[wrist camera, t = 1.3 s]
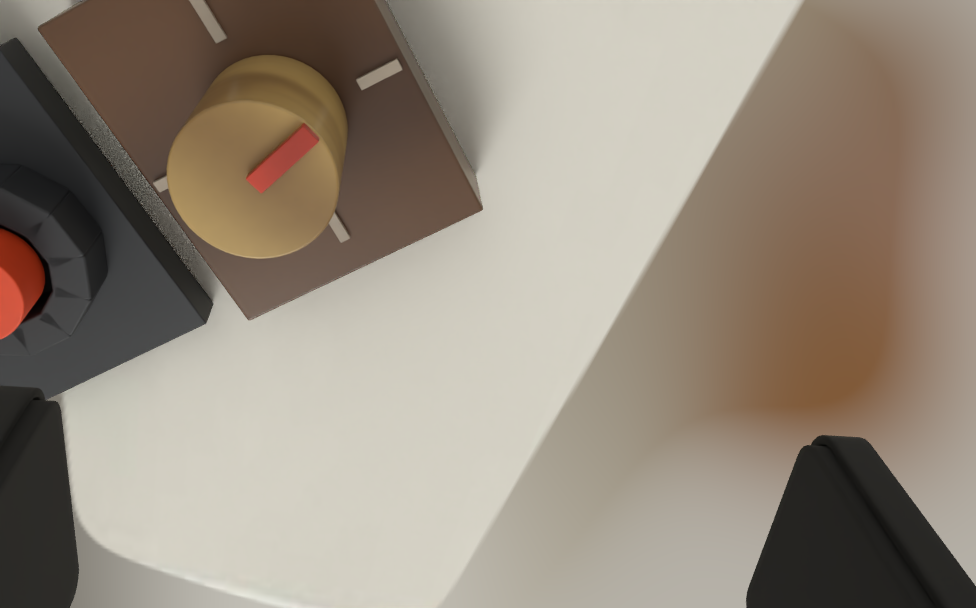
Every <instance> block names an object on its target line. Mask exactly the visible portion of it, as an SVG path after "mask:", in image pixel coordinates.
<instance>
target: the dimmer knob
mask: <svg viewBox="0 0 976 608" xmlns="http://www.w3.org/2000/svg"><path fill="white" fill-rule="evenodd" d="M347 138H348V122H347V117H346V112H345V109H344V106H343V104H342V102H341V100H340V98H339V96H338V94H337V92H336V91H335V89H334V88H333V87H332V85H331V84H330V83H329V82H328V81H327V80H326V79H325V78H324V77H323V76H322V75H321V74H320V73H319V72H317V71H316V70H314V69H313V68H312V67H310V66H308V65H306V64H304V63H302V62H300V61H297V60H295V59H292V58H288V57H284V56H278V55H259V56H252V57H249V58H245V59H242V60H240V61H238V62H236V63H234V64H232V65H231V66H229V67H227V68H226V69H225V70H224V71H223V72H221V73H220V74H219V75H218V76H217V78H216V79H215V80H214V81H213V83H212V84H211V85H210V87H209V88H208V90H207V91H206V93H205V94H204V96H203V97H202V99H201V100H200V102H199V103H198V105H197V106H196V108H195V109H194V110H193V112H192V113H191V115H190V116H189V118H188V119H187V121H186V122H185V124H184V125H183V127H182V128H181V130H180V131H179V133H178V134H177V136H176V137H175V139H174V141H173V143H172V146H171V148H170V152H169V155H168V160H167V168H166V170H167V183H168V189H169V193H170V196H171V199H172V201H173V203H174V206H175V208H176V210H177V211H178V213H179V214H180V216H181V218H182V219H183V220H184V222H185V223H186V224H187V225H188V227H189V228H190V229H191V230H192V231H193V232H194V233H196V234H197V235H198V236H199V237H200V238H202V239H203V240H204V241H206V242H207V243H209V244H210V245H212V246H214V247H216V248H218V249H220V250H222V251H224V252H227V253H230V254H233V255H236V256H241V257H246V258H256V259H262V258H274V257H280V256H283V255H287V254H290V253H293V252H295V251H298V250H300V249H301V248H303V247H305V246H307V245H308V244H309V243H311V242H312V241H313V240H315V239H316V238H317V237H318V236H319V235H320V234H321V233H322V232H323V231H324V229H325V228H326V227H327V225H328V224H329V222H330V220H331V218H332V217H333V214H334V212H335V209H336V206H337V202H338V197H339V191H340V185H341V178H342V172H343V165H344V159H345V152H346V146H347Z"/></svg>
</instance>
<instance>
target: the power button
mask: <svg viewBox="0 0 976 608" xmlns="http://www.w3.org/2000/svg"><path fill="white" fill-rule="evenodd" d="M44 285H45V272H44V268H43V265H42V262H41V260H40V258H39V257H38V255H37V253H36V252H35V251H34V249H33V248H32V247H31V246H30V245H29V244H28V243H27V242H25V241H24V240H23V239H21V238H20V237H19V236H17V235H15V234H13V233H12V232H9V231H7V230H5V229H1V228H0V339H2V338H5V337H6V336H8V335H10V334H11V333H12V332H14V331H15V329H16V328H17V327H18V326H19V325H20V323H21V322H22V321H23V319H24V318H25V317H26V315H27V314H28V312H29V311H30V310H31V308H32V307H33V306H34V304H35V303H36V302H37V300H38V299H39V297H40V296H41V294H42V292H43V289H44Z"/></svg>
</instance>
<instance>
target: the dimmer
mask: <svg viewBox="0 0 976 608" xmlns="http://www.w3.org/2000/svg"><path fill="white" fill-rule="evenodd" d="M38 31H39V32H40V33H41V35H42V36H43V37H44V39H45V40H46V42H47V43H48V44H49V46H50V47H51V48H52V50H53V51H54V53H55V54H56V55H57V57H58V58H59V60H60V61H61V62H62V64H63V65H64V66H65V68H66V69H67V71H68V72H69V73H70V75H71V76H72V77H73V79H74V80H75V82H76V83H77V84H78V86H79V87H80V89H81V90H82V91H83V93H84V94H85V95H86V97H87V98H88V100H89V101H90V102H91V104H92V105H93V106H94V108H95V109H96V111H97V112H98V113H99V115H100V116H101V118H102V119H103V120H104V122H105V123H106V124H107V126H108V127H109V129H110V130H111V131H112V133H113V134H114V135H115V137H116V138H117V140H118V141H119V142H120V144H121V145H122V147H123V148H124V149H125V151H126V152H127V153H128V155H129V156H130V158H131V159H132V160H133V162H134V163H135V164H136V166H137V167H138V169H139V170H140V171H141V173H142V174H143V176H144V177H145V178H146V180H147V181H148V182H149V184H150V185H151V187H152V188H153V189H154V191H155V192H156V193H157V195H158V196H159V198H160V199H161V200H162V202H163V203H164V205H165V206H166V207H167V209H168V210H169V211H170V213H171V214H172V216H173V217H174V218H175V220H176V221H177V222H178V224H179V225H180V227H181V228H182V229H183V231H184V232H185V234H186V235H187V236H188V238H189V239H190V240H191V242H192V243H193V245H194V246H195V247H196V249H197V250H198V251H199V253H200V254H201V256H202V257H203V258H204V260H205V261H206V263H207V264H208V265H209V267H210V268H211V269H212V271H213V272H214V274H215V275H216V276H217V278H218V279H219V280H220V282H221V283H222V285H223V286H224V287H225V289H226V290H227V292H228V293H229V294H230V296H231V297H232V298H233V300H234V301H235V303H236V304H237V305H238V307H239V308H240V309H241V311H242V312H243V314H244V315H245V316H246V318H247V319H248V320H252V319H254V318H256V317H258V316H260V315H262V314H264V313H266V312H269V311H271V310H273V309H275V308H277V307H279V306H281V305H283V304H285V303H288V302H290V301H292V300H294V299H296V298H298V297H300V296H302V295H304V294H307V293H309V292H311V291H313V290H315V289H317V288H319V287H321V286H323V285H326V284H328V283H330V282H332V281H334V280H336V279H338V278H340V277H342V276H345V275H347V274H349V273H351V272H353V271H355V270H357V269H359V268H361V267H364V266H366V265H368V264H370V263H372V262H374V261H376V260H378V259H380V258H383V257H385V256H387V255H389V254H391V253H393V252H395V251H397V250H399V249H402V248H404V247H406V246H408V245H410V244H412V243H414V242H416V241H418V240H421V239H423V238H425V237H427V236H429V235H431V234H433V233H435V232H437V231H440V230H442V229H444V228H446V227H448V226H450V225H452V224H454V223H456V222H459V221H461V220H463V219H465V218H467V217H469V216H471V215H473V214H475V213H478V212H480V211H482V210H483V206H482V202H481V197H480V192H479V188H478V183H477V178H476V175H475V173H474V171H473V169H472V168H471V166H470V164H469V162H468V160H467V158H466V156H465V154H464V152H463V150H462V148H461V146H460V144H459V142H458V140H457V138H456V136H455V134H454V133H453V131H452V129H451V127H450V125H449V123H448V121H447V119H446V117H445V115H444V113H443V111H442V109H441V107H440V105H439V103H438V101H437V99H436V97H435V96H434V94H433V92H432V90H431V88H430V86H429V84H428V82H427V80H426V78H425V76H424V74H423V72H422V70H421V68H420V66H419V64H418V62H417V60H416V59H415V57H414V55H413V53H412V51H411V49H410V47H409V45H408V43H407V41H406V39H405V37H404V35H403V33H402V31H401V29H400V27H399V25H398V24H397V22H396V20H395V18H394V16H393V14H392V12H391V10H390V8H389V6H388V4H387V2H386V0H83V1H81V2H79V3H77V4H75V5H73V6H72V7H70V8H68V9H67V10H65V11H63V12H62V13H60V14H58V15H57V16H55V17H53V18H52V19H50V20H48V21H47V22H45V23H43V24H42V25H40V26H39V27H38ZM259 55H278V56H284V57H288V58H292V59H295V60H297V61H300V62H302V63H304V64H306V65H308V66H310V67H312V68H313V69H314V70H316V71H317V72H319V73H320V74H321V75H322V76H323V77H324V78H325V79H326V80H327V81H328V82H329V83H330V84H331V85H332V87H333V88H334V89H335V91H336V92H337V94H338V96H339V98H340V100H341V102H342V104H343V106H344V109H345V112H346V117H347V122H348V138H347V146H346V152H345V159H344V165H343V172H342V178H341V185H340V191H339V197H338V202H337V206H336V209H335V212H334V214H333V217H332V218H331V220H330V222H329V224H328V225H327V227H326V228H325V229H324V231H323V232H322V233H321V234H320V235H319V236H318V237H317V238H316V239H315V240H313V241H312V242H311V243H309V244H308V245H307V246H305V247H303V248H301V249H300V250H298V251H295V252H293V253H290V254H287V255H283V256H280V257H274V258H262V259H256V258H246V257H241V256H236V255H233V254H230V253H227V252H224V251H222V250H220V249H218V248H216V247H214V246H212V245H210V244H209V243H207V242H206V241H204V240H203V239H202V238H200V237H199V236H198V235H197V234H196V233H194V232H193V231H192V230H191V229H190V228H189V227H188V225H187V224H186V223H185V222H184V220H183V219H182V218H181V216H180V214H179V213H178V211H177V210H176V208H175V206H174V203H173V201H172V199H171V196H170V193H169V189H168V183H167V170H166V168H167V160H168V155H169V152H170V148H171V146H172V143H173V141H174V139H175V137H176V136H177V134H178V133H179V131H180V130H181V128H182V127H183V125H184V124H185V122H186V121H187V119H188V118H189V116H190V115H191V113H192V112H193V110H194V109H195V108H196V106H197V105H198V103H199V102H200V100H201V99H202V97H203V96H204V94H205V93H206V91H207V90H208V88H209V87H210V85H211V84H212V83H213V81H214V80H215V79H216V78H217V76H218V75H219V74H220V73H221V72H223V71H224V70H225V69H226V68H227V67H229V66H231V65H232V64H234V63H236V62H238V61H240V60H242V59H245V58H249V57H252V56H259Z"/></svg>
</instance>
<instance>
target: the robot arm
mask: <svg viewBox="0 0 976 608" xmlns="http://www.w3.org/2000/svg"><path fill="white" fill-rule="evenodd" d="M78 567H79V565H78V556H77V548H76V540H75V530H74V522H73V512H72V504H71V495H70V486H69V477H68V469H67V460H66V451H65V442H64V434H63V425H62V416H61V410H60V406H59V404H58V402H56V401H46V400H45V396H44V393H43V392H42V390H41V389H39V388H33V387H17V386H0V608H70V606H71V603H72V601H73V598H74V595H75V592H76V588H77V582H78V574H79V568H78ZM746 605H747V608H976V586H975V585H974V583H973V582H972V581H971V579H970V578H969V577H968V575H967V574H966V572H965V571H964V570H963V568H962V567H961V566H960V564H959V563H958V562H957V560H956V559H955V558H954V556H953V555H952V554H951V552H950V551H949V550H948V548H947V547H946V545H945V544H944V543H943V541H942V540H941V539H940V537H939V536H938V535H937V533H936V532H935V531H934V529H933V528H932V527H931V525H930V524H929V522H928V521H927V520H926V519H925V517H924V516H923V514H922V513H921V512H920V510H919V509H918V508H917V506H916V505H915V504H914V502H913V501H912V500H911V498H910V497H909V495H908V494H907V493H906V491H905V490H904V489H903V487H902V486H901V485H900V483H899V482H898V481H897V479H896V478H895V477H894V476H893V474H892V473H891V471H890V470H889V468H888V467H887V466H886V465H885V463H884V462H883V460H882V459H881V458H880V456H879V455H878V454H877V452H876V451H875V450H874V448H873V447H872V446H871V444H870V443H869V442H868V441H866V440H865V439H863V438H860V437H844V436H827V435H822V436H818V437H817V438H816V439H815V440H814V441H813V442H812V444H811V445H807V446H804V447H803V448H802V449H801V450H800V452H799V454H798V456H797V459H796V462H795V464H794V467H793V470H792V473H791V475H790V478H789V480H788V483H787V486H786V489H785V491H784V494H783V497H782V499H781V502H780V505H779V507H778V510H777V513H776V515H775V518H774V521H773V523H772V526H771V529H770V531H769V534H768V537H767V540H766V542H765V545H764V548H763V550H762V553H761V555H760V558H759V561H758V564H757V566H756V569H755V572H754V574H753V577H752V580H751V582H750V585H749V588H748V591H747V598H746Z"/></svg>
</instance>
